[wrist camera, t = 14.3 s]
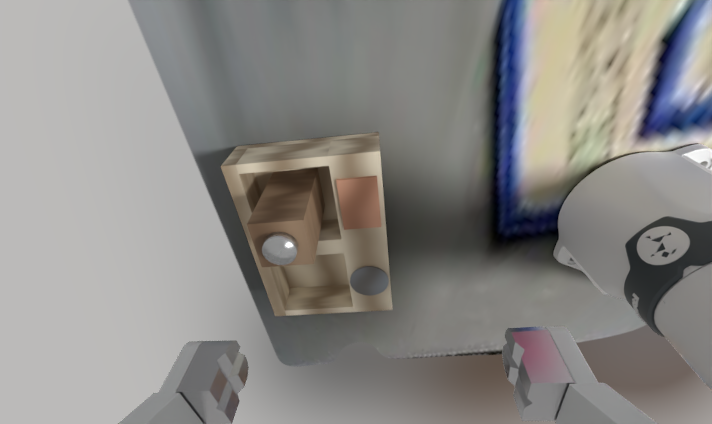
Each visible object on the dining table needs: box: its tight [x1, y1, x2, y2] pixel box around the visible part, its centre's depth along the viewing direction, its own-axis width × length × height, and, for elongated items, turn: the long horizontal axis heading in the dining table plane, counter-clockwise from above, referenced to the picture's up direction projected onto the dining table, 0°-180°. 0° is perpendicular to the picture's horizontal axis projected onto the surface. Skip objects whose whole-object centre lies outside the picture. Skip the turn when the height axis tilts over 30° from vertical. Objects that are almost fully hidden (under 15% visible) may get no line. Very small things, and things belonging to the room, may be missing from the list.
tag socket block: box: [221, 132, 393, 316], centre depth 40 cm, size 16×22×5 cm
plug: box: [247, 168, 325, 267], centre depth 34 cm, size 5×5×11 cm
